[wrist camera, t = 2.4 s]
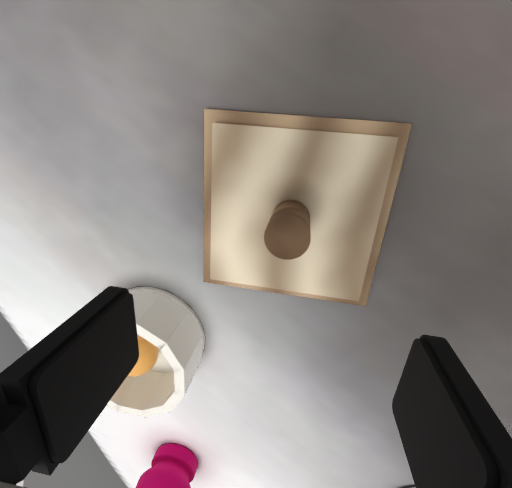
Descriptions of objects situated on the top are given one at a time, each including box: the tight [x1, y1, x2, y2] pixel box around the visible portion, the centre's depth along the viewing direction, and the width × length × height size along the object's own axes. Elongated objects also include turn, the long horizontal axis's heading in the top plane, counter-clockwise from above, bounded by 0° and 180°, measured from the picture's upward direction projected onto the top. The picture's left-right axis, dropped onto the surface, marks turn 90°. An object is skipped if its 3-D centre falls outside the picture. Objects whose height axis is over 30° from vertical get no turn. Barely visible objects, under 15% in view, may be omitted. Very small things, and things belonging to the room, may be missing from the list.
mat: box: [204, 109, 412, 306], centre depth 26 cm, size 16×16×1 cm
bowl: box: [107, 287, 205, 418], centre depth 31 cm, size 12×12×6 cm
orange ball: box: [128, 334, 159, 377], centre depth 31 cm, size 4×4×4 cm
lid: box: [210, 123, 398, 301], centre depth 23 cm, size 14×14×6 cm
